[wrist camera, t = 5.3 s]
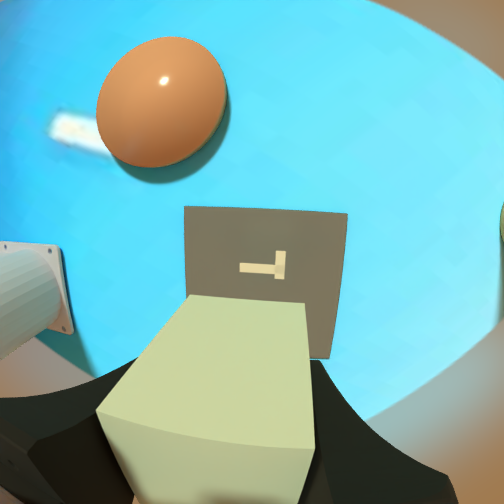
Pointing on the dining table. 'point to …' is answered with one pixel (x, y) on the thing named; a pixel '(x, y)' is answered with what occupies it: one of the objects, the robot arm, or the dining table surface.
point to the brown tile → (269, 260)
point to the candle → (502, 222)
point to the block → (217, 406)
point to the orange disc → (161, 102)
